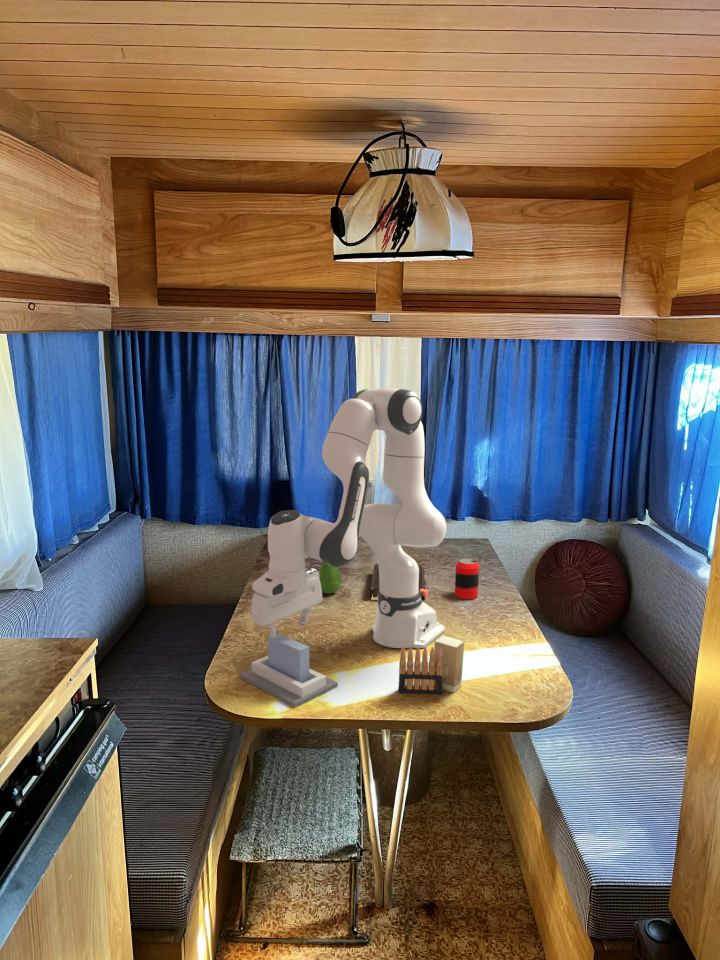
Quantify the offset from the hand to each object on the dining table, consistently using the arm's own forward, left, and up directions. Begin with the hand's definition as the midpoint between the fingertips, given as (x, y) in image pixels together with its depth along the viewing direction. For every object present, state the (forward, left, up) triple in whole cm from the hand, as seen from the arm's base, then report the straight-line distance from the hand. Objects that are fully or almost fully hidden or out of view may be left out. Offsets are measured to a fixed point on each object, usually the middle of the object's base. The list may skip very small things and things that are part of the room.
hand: (289, 630), depth 179 cm
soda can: (-79, -2, -14) cm, 81 cm away
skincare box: (-25, +30, -14) cm, 42 cm away
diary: (-69, -23, -15) cm, 75 cm away
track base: (+1, 0, -14) cm, 14 cm away
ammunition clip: (-18, +27, -14) cm, 36 cm away
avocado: (-49, -36, -14) cm, 63 cm away
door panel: (0, 0, -13) cm, 13 cm away
